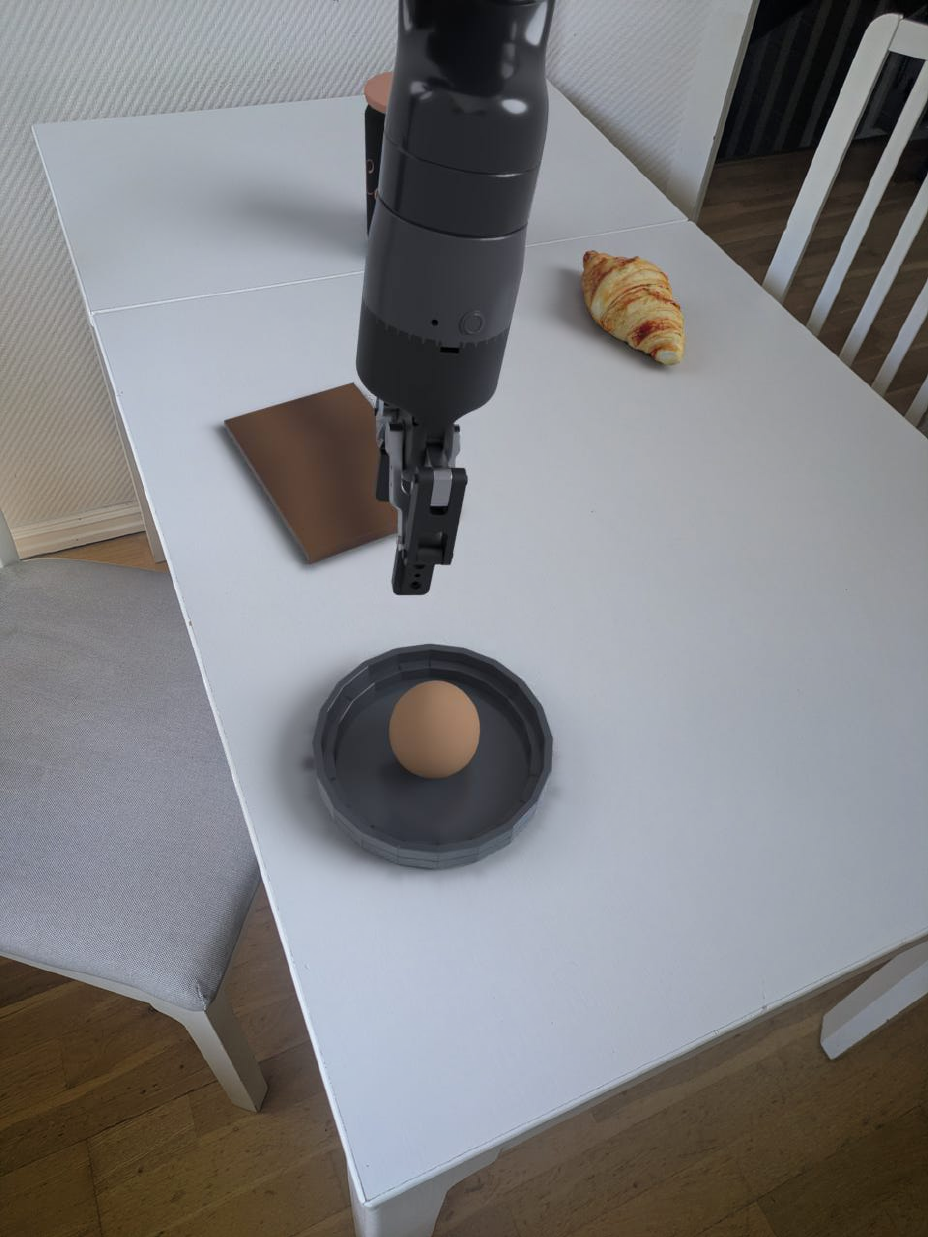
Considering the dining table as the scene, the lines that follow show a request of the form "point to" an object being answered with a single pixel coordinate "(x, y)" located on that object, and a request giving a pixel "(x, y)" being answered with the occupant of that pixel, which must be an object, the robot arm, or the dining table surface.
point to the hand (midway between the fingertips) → (399, 542)
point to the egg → (434, 729)
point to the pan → (436, 807)
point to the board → (319, 468)
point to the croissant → (634, 304)
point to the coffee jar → (374, 135)
